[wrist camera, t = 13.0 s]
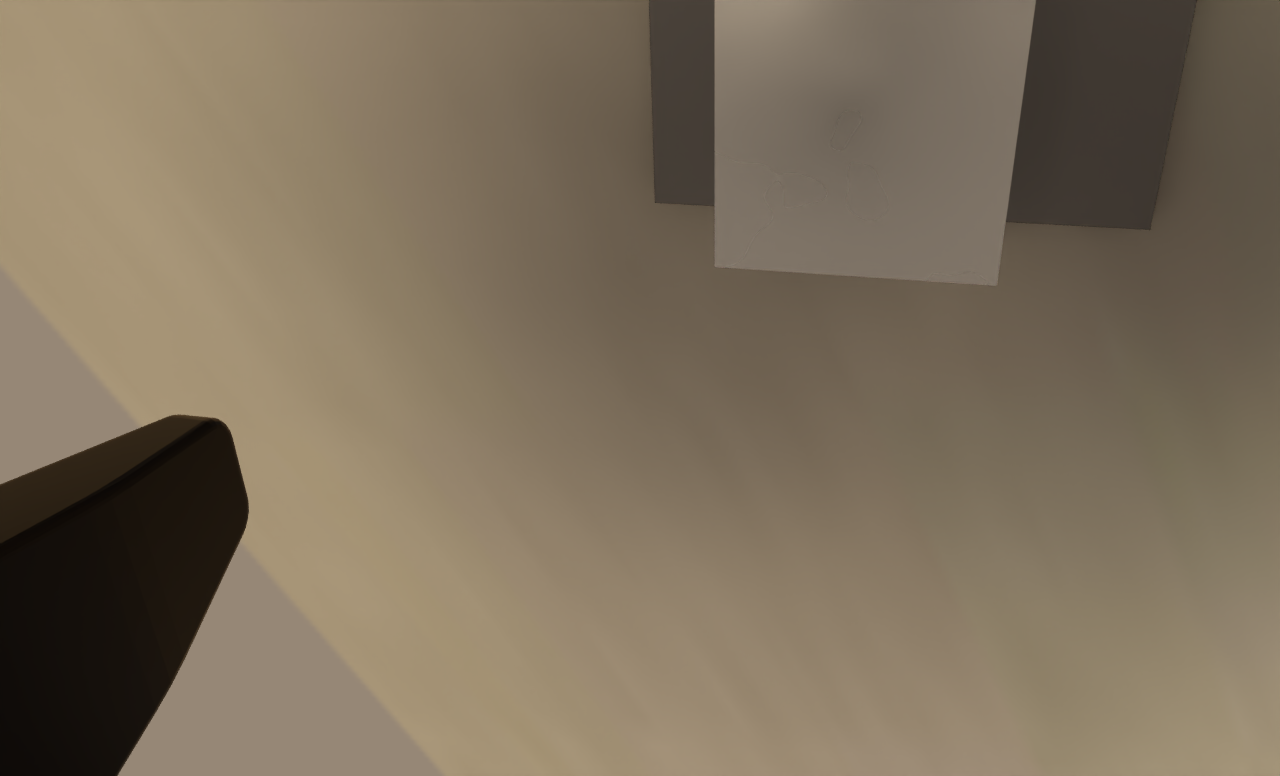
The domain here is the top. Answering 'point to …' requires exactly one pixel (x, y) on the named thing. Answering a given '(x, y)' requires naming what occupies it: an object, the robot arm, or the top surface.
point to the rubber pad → (1049, 121)
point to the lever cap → (867, 135)
